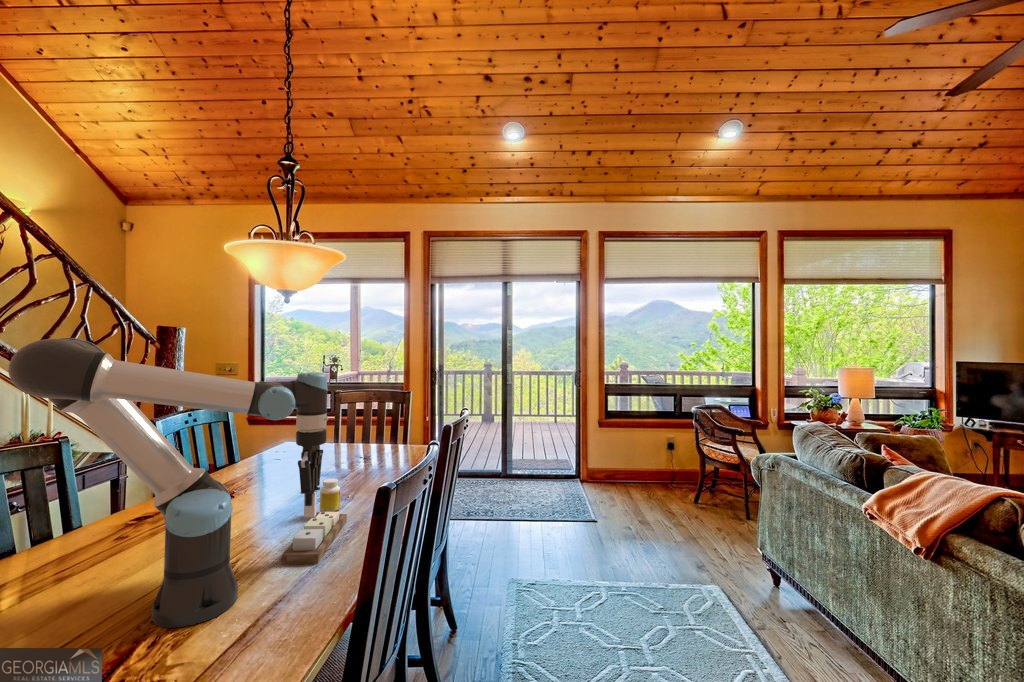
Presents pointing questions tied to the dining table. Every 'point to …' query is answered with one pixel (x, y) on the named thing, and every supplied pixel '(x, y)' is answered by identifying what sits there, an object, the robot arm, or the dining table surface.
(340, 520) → the tile tray
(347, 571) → the dining table surface
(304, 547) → the tile one
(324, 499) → the pill bottle
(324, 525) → the tile two
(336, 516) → the tile three
